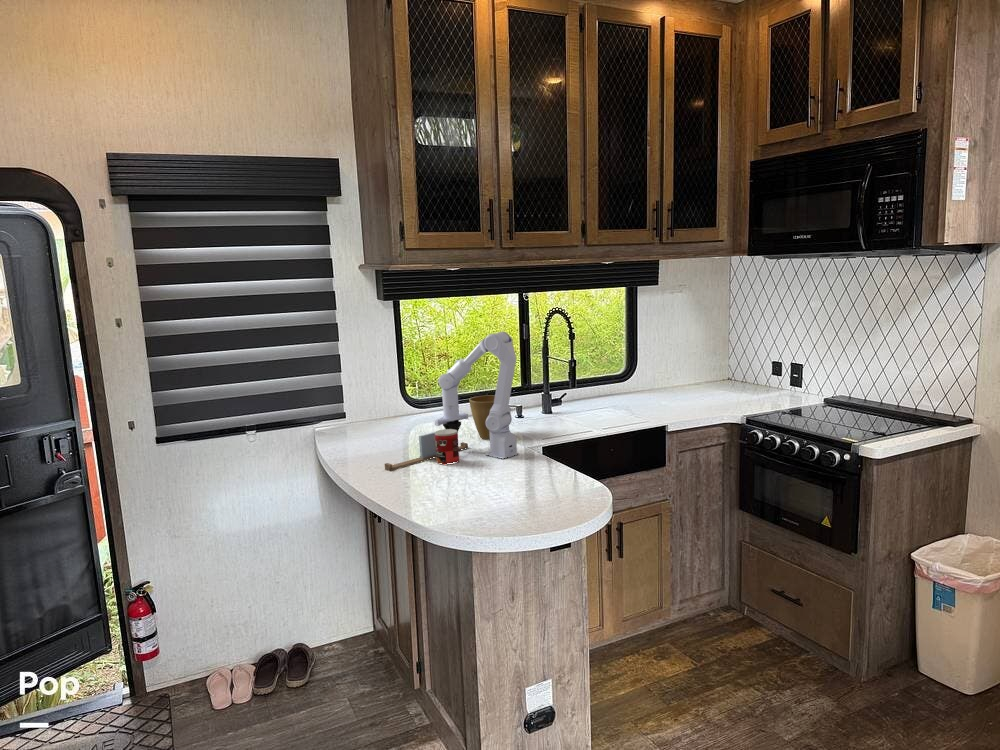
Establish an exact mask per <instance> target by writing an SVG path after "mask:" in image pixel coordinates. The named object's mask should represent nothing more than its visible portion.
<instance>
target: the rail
mask: <svg viewBox="0 0 1000 750" xmlns="http://www.w3.org/2000/svg"><path fill="white" fill-rule="evenodd" d="M458 446H459V450H461V449H465V448H468V449H469V444H468V443H467V442H460V444H459V445H458ZM465 450H466V449H465ZM461 451H462V450H461ZM433 457H436V455H434V456H430V457H427V458H420V457H416V458H413V459H409V460H407V461H403V462H399V463H396V464H392V463H389V462H387V463H384V470H385V471H389V472H390V471H394V470H397V469H400V468H404V467H408V466H412V465H415V464H418V463H417V462H419V463H422V462H425V461H424V460H426V461H428V460H427V459H430V458H433ZM433 459H434V458H433ZM430 460H431V459H430ZM421 461H422V462H421ZM414 463H415V464H414Z"/></svg>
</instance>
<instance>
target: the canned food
mask: <svg viewBox="0 0 1000 750" xmlns="http://www.w3.org/2000/svg"><path fill="white" fill-rule="evenodd" d="M434 432H435V445H436V458H435V459H436V463H437V462H438V463H442V464H447V463H453V462H457V461H458V462H460V451H459V446H460V445H459V435H458V433H459V431H458V432H457V430H454V429H445V428H444V429H440V430H436V431H434ZM458 462H457V463H458ZM438 463H437V464H438Z"/></svg>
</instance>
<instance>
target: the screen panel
mask: <svg viewBox="0 0 1000 750" xmlns="http://www.w3.org/2000/svg"><path fill="white" fill-rule="evenodd" d="M435 432H436V431H433V432H429V433H425V434H421V435H419V436H418V440H419V441H418V442H419V444H418V445H419V458H427V457H430V456H434V455H436V445H435Z"/></svg>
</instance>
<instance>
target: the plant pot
mask: <svg viewBox="0 0 1000 750" xmlns="http://www.w3.org/2000/svg"><path fill="white" fill-rule="evenodd" d="M494 399H495V394H494V395H493V394H488V395H478V396H477V395H476V396H473V397H470V398H469V401H468V402H469V407H470V411H471V415H472V418H473V423H474V425H475V428H476V431H477V432H478V436H479V438H480V439H481V438H482V439H481V440H485V439H490V433H489V430H488V428H487V427H486V419H487V417H488V416H489V413H490V410H491V408H492V406H493V404H494Z"/></svg>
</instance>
